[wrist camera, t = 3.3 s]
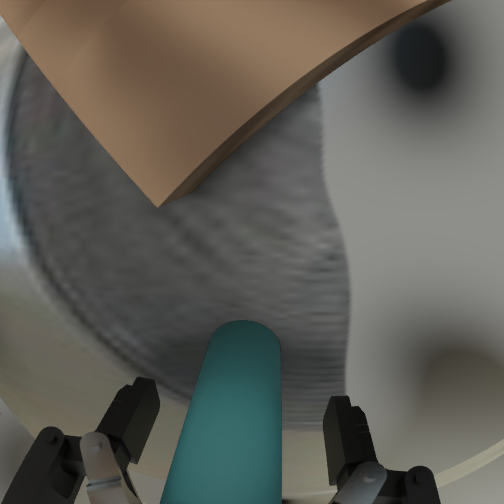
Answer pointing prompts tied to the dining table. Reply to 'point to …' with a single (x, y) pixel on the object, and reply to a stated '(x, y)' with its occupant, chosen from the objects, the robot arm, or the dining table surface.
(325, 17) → the socket block
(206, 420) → the peg
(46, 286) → the dining table surface
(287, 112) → the dining table surface
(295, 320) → the dining table surface
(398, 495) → the robot arm
